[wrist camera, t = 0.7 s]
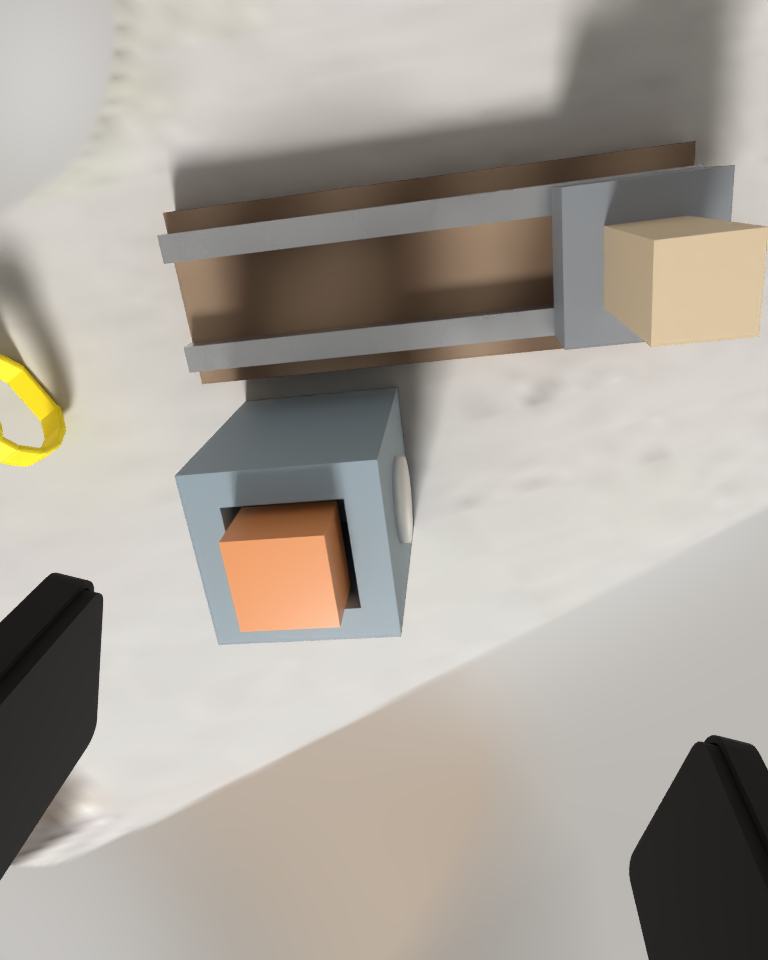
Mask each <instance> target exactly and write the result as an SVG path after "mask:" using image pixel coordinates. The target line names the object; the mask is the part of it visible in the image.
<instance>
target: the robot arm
mask: <svg viewBox="0 0 768 960" xmlns="http://www.w3.org/2000/svg"><path fill="white" fill-rule="evenodd" d="M102 614H103V596H102V594H100V593H96V592H94V586H93V583H92V582H90V581H88V580H84V579H80V578H76V577H72V576H68V575H64V574H60V573H52V574H50V575H49V576H48V577H46V578H45V579H44V580H43V581H42V582H41V583H40V584H39V585H38V586H37V587H36V588H35V589H34V590H33V591H32V592H31V593H30V594H29V595H28V596H27V597H26V598H25V599H24V600H23V601H22V602H21V603H20V604H19V605H18V606H17V607H16V608H15V609H14V610H13V611H12V612H11V613H9V614H8V615H7V616H6V617H5V618H4V619H3V620H2V621H1V622H0V880H1V878H2V877H3V875H4V874H5V872H6V871H7V869H8V868H9V866H10V865H11V863H12V862H13V860H14V858H15V857H16V855H17V854H18V852H19V851H20V849H21V848H22V846H23V845H24V843H25V842H26V840H27V839H28V837H29V835H30V834H31V832H32V831H33V829H34V828H35V826H36V825H37V823H38V822H39V820H40V819H41V817H42V816H43V814H44V812H45V811H46V809H47V808H48V806H49V805H50V803H51V802H52V800H53V799H54V797H55V796H56V794H57V792H58V791H59V789H60V788H61V786H62V785H63V783H64V782H65V780H66V779H67V777H68V776H69V774H70V773H71V771H72V769H73V768H74V766H75V765H76V763H77V762H78V760H79V759H80V757H81V756H82V754H83V753H84V751H85V750H86V748H87V746H88V745H89V743H90V741H91V739H92V736H93V734H94V731H95V727H96V723H97V709H98V690H99V671H100V652H101V633H102ZM629 875H630V882H631V886H632V890H633V895H634V899H635V903H636V907H637V911H638V916H639V920H640V924H641V929H642V932H643V937H644V941H645V945H646V950H647V954H648V958H649V960H768V770H767V768H766V766H765V764H764V762H763V760H762V758H761V756H760V754H759V752H758V751H757V749H756V748H755V747H754V746H753V745H751V744H749V743H745V742H741V741H737V740H733V739H729V738H725V737H721V736H716V735H712V736H710V737H708V738H707V739H706V740H705V742H697V743H695V744H694V746H693V747H692V748H691V751H690V752H689V754H688V756H687V757H686V759H685V761H684V763H683V765H682V766H681V768H680V770H679V772H678V773H677V775H676V777H675V779H674V781H673V782H672V784H671V786H670V788H669V789H668V791H667V793H666V795H665V796H664V798H663V800H662V802H661V804H660V805H659V807H658V809H657V811H656V812H655V814H654V816H653V818H652V820H651V821H650V823H649V825H648V827H647V829H646V830H645V832H644V834H643V836H642V837H641V839H640V841H639V843H638V844H637V846H636V848H635V850H634V852H633V854H632V856H631V860H630V867H629Z"/></svg>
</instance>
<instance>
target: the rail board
mask: <svg viewBox="0 0 768 960" xmlns="http://www.w3.org/2000/svg"><path fill="white" fill-rule="evenodd" d="M694 159H695V141H692V142H685V143H677V144H670V145H663V146H655V147H648V148H640V149H633V150H625V151H618V152H611V153H603V154H596V155H588V156H581V157H574V158H566V159H559V160H551V161H544V162H536V163H529V164H522V165H514V166H507V167H499V168H492V169H485V170H477V171H470V172H462V173H455V174H447V175H440V176H433V177H425V178H418V179H410V180H403V181H395V182H388V183H381V184H373V185H366V186H358V187H351V188H344V189H336V190H329V191H321V192H314V193H306V194H299V195H292V196H284V197H277V198H269V199H262V200H255V201H247V202H240V203H232V204H225V205H217V206H210V207H203V208H195V209H188V210H180V211H173V212H166V213H163V215H164V220H165V224H166V229H167V233H168V234H164V235H158V240H159V245H160V249H161V253H162V257H163V262H164V264H166V263H175V268H176V272H177V276H178V281H179V285H180V289H181V294H182V298H183V302H184V307H185V311H186V315H187V320H188V324H189V328H190V333H191V337H192V341H193V342H192V343H190V344H189V345H187V346H186V347H184V350H185V355H186V359H187V363H188V367H189V372H200V376H201V380H202V384H208V383H218V382H228V381H238V380H248V379H258V378H268V377H278V376H288V375H299V374H309V373H319V372H329V371H339V370H349V369H359V368H369V367H379V366H389V365H400V364H410V363H420V362H430V361H440V360H450V359H460V358H470V357H480V356H491V355H501V354H511V353H521V352H531V351H541V350H551V349H561V348H563V346H562V345H561V343H560V342H559V340H558V339H557V337H556V336H555V325H554V287H553V249H552V211H551V187H556V186H564V185H571V184H579V183H587V182H595V181H602V180H610V179H618V178H625V177H633V176H641V175H648V174H656V173H664V172H672V171H679V170H687V169H695V168H702V167H704V164H703V165H694Z"/></svg>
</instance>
